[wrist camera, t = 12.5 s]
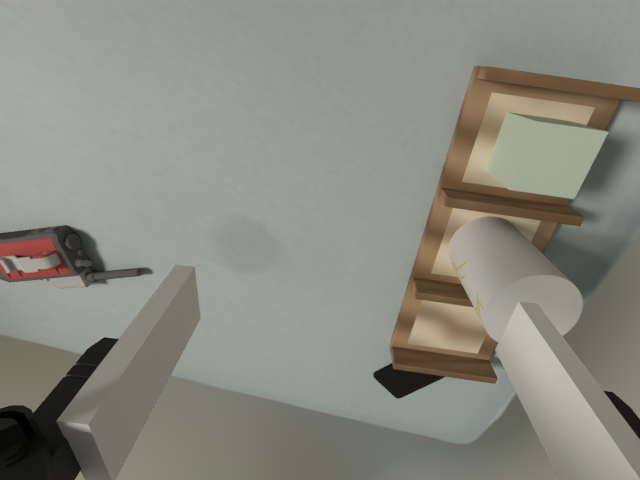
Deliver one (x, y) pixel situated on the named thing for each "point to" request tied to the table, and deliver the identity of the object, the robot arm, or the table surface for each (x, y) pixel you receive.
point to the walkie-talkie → (50, 258)
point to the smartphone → (403, 380)
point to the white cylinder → (510, 275)
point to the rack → (485, 214)
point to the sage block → (544, 154)
